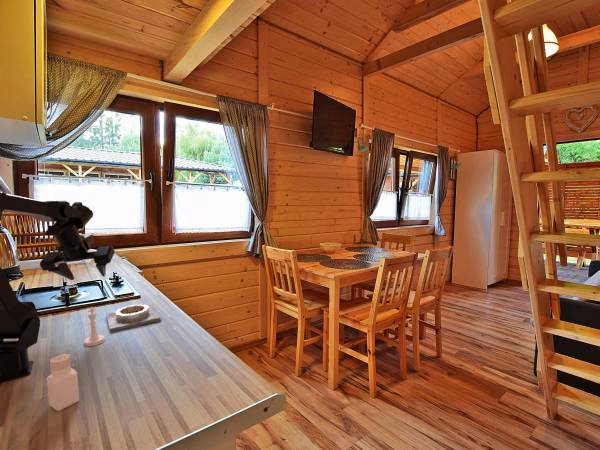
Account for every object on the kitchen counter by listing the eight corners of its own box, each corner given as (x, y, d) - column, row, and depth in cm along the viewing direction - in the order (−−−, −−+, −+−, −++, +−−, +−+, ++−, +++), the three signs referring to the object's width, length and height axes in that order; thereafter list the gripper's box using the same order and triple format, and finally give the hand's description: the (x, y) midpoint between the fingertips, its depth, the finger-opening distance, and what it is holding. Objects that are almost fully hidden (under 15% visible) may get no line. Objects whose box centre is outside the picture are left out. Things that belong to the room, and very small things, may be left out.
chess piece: (80, 343, 86) (76, 308, 85) (98, 336, 90) (95, 303, 89) (90, 347, 84) (87, 312, 82) (108, 339, 88) (106, 305, 87)
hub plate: (160, 320, 101) (159, 311, 100) (110, 332, 92) (109, 322, 92) (152, 307, 112) (151, 299, 111) (106, 317, 104) (105, 308, 103)
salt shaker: (57, 413, 59) (52, 365, 58) (48, 405, 61) (43, 360, 60) (81, 401, 62) (76, 356, 61) (71, 394, 64) (67, 350, 63)
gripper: (111, 220, 99) (126, 257, 108) (46, 226, 96) (66, 264, 105) (100, 242, 90) (117, 280, 99) (27, 249, 87) (52, 288, 96)
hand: (88, 277), depth 100 cm, fingers open, 9 cm apart
